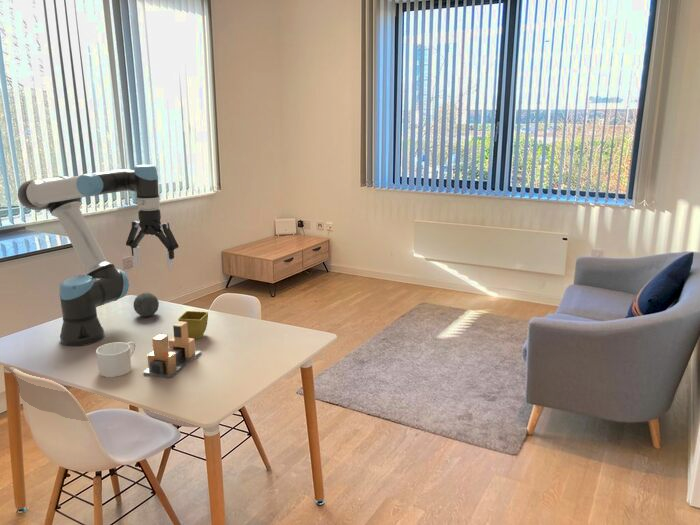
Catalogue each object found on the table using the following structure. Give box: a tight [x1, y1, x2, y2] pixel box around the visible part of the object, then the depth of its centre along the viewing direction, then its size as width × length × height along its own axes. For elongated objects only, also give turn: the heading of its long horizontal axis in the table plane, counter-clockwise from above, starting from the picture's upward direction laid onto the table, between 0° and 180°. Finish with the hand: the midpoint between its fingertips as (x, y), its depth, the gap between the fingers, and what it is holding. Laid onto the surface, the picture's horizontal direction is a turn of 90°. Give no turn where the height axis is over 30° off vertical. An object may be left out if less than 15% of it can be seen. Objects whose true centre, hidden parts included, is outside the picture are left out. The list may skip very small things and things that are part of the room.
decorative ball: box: [133, 292, 160, 317], centre depth 237 cm, size 10×10×10 cm
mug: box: [95, 341, 136, 378], centre depth 189 cm, size 13×10×8 cm
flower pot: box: [178, 310, 209, 341], centre depth 216 cm, size 9×9×9 cm
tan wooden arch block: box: [168, 320, 196, 358], centre depth 198 cm, size 8×5×12 cm, turn 75°
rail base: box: [142, 333, 202, 379], centre depth 193 cm, size 10×20×12 cm, turn 165°
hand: (153, 266), depth 208 cm, fingers open, 13 cm apart
